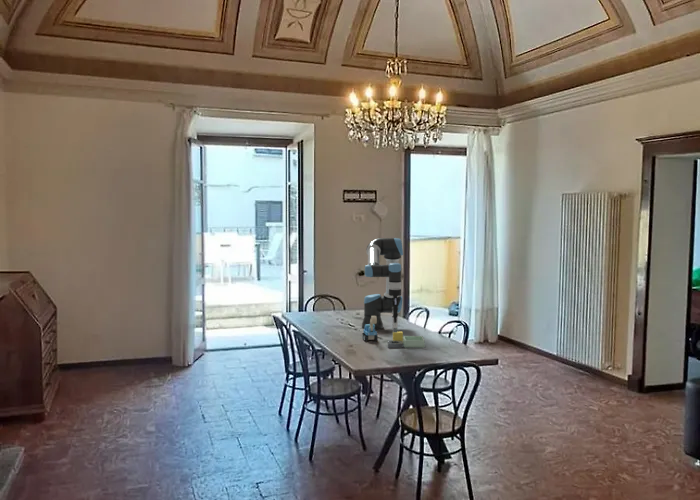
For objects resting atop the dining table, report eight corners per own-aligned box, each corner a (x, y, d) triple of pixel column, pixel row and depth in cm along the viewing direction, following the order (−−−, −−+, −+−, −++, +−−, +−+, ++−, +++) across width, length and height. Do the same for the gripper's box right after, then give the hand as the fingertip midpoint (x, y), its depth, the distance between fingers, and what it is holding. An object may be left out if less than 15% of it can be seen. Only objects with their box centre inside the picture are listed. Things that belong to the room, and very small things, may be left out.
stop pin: (391, 331, 364) (391, 307, 362) (398, 331, 364) (398, 307, 362) (391, 332, 360) (391, 308, 358) (398, 332, 360) (398, 308, 358)
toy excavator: (367, 344, 368) (367, 316, 367) (361, 338, 384) (361, 312, 383) (380, 343, 370) (380, 316, 368) (374, 337, 386) (374, 311, 385)
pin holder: (387, 344, 366) (387, 340, 366) (401, 344, 366) (401, 340, 366) (388, 347, 357) (388, 343, 357) (402, 347, 357) (402, 343, 357)
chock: (392, 340, 377) (392, 331, 376) (402, 340, 377) (402, 331, 376) (393, 342, 373) (393, 332, 372) (402, 342, 373) (402, 332, 372)
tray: (403, 343, 370) (403, 336, 369) (422, 343, 369) (422, 336, 369) (404, 347, 358) (404, 340, 357) (424, 347, 357) (424, 340, 357)
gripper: (388, 286, 367) (388, 324, 369) (389, 290, 351) (389, 330, 353) (400, 286, 367) (400, 324, 369) (402, 290, 351) (402, 329, 353)
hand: (395, 327), depth 361 cm, fingers closed on stop pin, 3 cm apart
